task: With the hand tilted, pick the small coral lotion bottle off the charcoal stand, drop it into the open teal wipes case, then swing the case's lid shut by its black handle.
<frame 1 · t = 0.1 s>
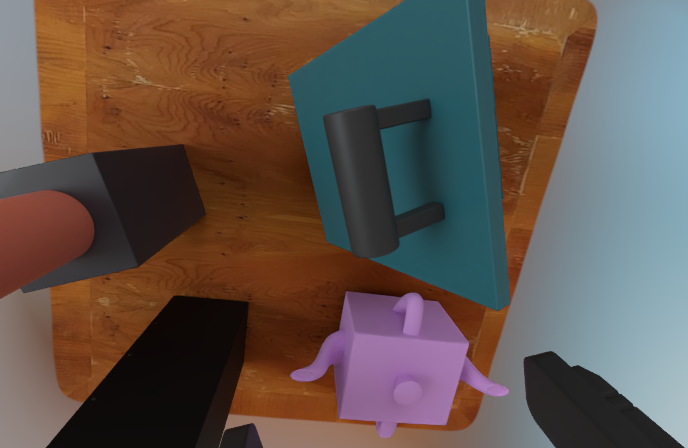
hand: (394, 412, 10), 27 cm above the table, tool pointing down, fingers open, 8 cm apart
case lid: (336, 171, 17), point 18 cm above the table, hinge at 65.0°
teapot: (382, 324, 40), on the table
tissue box: (210, 328, 38), on the table
stand: (159, 188, 33), on the table
lotion bottle: (56, 226, 20), point 14 cm above the table, touching stand
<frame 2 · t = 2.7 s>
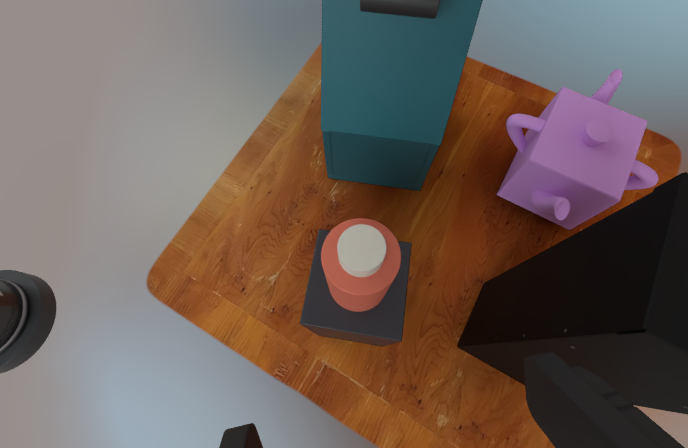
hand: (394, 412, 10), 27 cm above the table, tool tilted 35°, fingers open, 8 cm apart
case lid: (390, 66, 27), point 18 cm above the table, hinge at 65.0°
teapot: (540, 184, 43), on the table
tissue box: (503, 332, 37), on the table
stand: (354, 307, 38), on the table
lotion bottle: (357, 281, 25), point 14 cm above the table, touching stand
wipes case: (380, 139, 45), on the table
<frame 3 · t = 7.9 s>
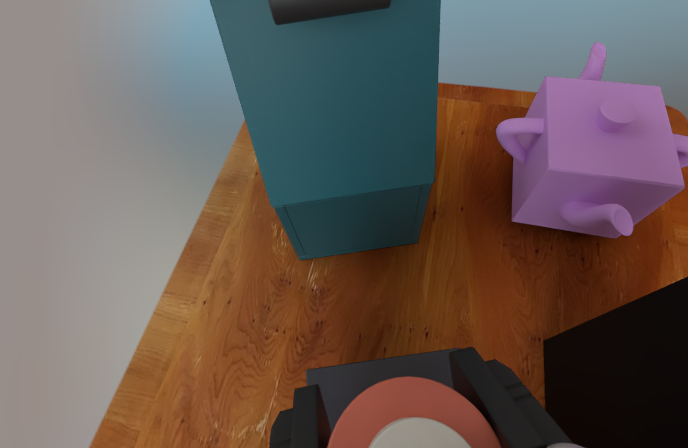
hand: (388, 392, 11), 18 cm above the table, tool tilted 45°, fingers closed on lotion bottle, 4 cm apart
case lid: (341, 97, 19), point 18 cm above the table, hinge at 65.0°
teapot: (553, 193, 35), on the table
tissue box: (597, 404, 26), on the table
stand: (387, 434, 26), on the table
wipes case: (349, 194, 37), on the table
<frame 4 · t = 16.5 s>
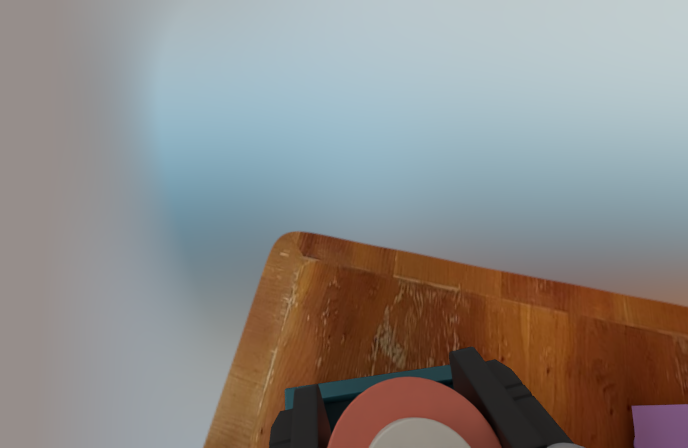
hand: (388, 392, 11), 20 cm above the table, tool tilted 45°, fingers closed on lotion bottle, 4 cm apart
when the fingers open (22 cm above the table, at t = 27.6 s): lotion bottle drops 17 cm, resting on wipes case.
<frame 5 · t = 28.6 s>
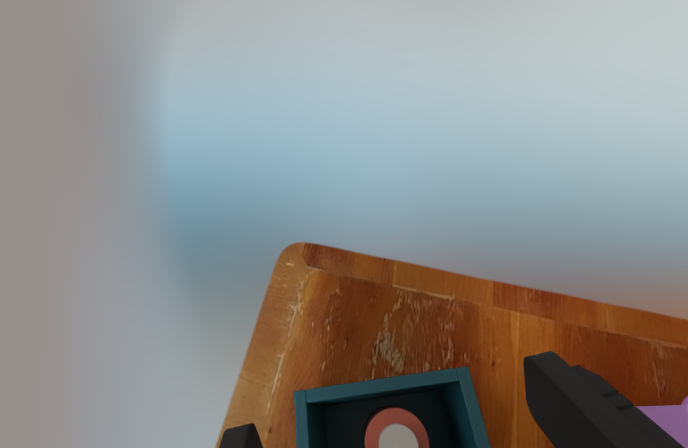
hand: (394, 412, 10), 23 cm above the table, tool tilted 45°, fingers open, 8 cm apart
lotion bottle: (389, 434, 29), point 1 cm above the table, touching wipes case
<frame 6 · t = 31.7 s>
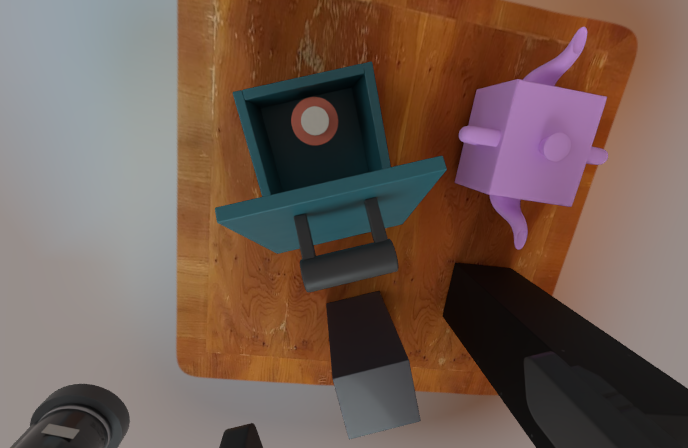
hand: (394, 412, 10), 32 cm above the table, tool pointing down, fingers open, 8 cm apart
case lid: (343, 247, 24), point 18 cm above the table, hinge at 63.6°
teapot: (494, 143, 41), on the table
tissue box: (475, 291, 46), on the table
stand: (358, 320, 45), on the table
lotion bottle: (314, 123, 37), point 1 cm above the table, touching wipes case
wipes case: (319, 153, 39), on the table
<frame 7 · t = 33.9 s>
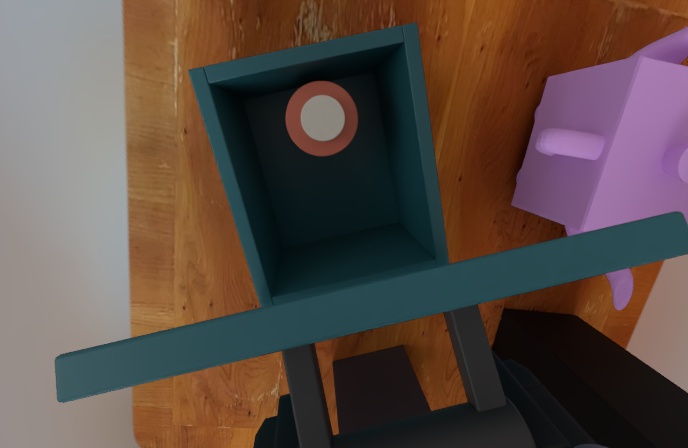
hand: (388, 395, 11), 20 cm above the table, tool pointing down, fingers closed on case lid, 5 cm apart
case lid: (377, 352, 13), point 18 cm above the table, hinge at 63.6°, touching gripper
teapot: (563, 151, 30), on the table
tissue box: (527, 344, 35), on the table
stand: (374, 382, 34), on the table
lotion bottle: (319, 122, 27), point 1 cm above the table, touching wipes case
wipes case: (325, 163, 28), on the table
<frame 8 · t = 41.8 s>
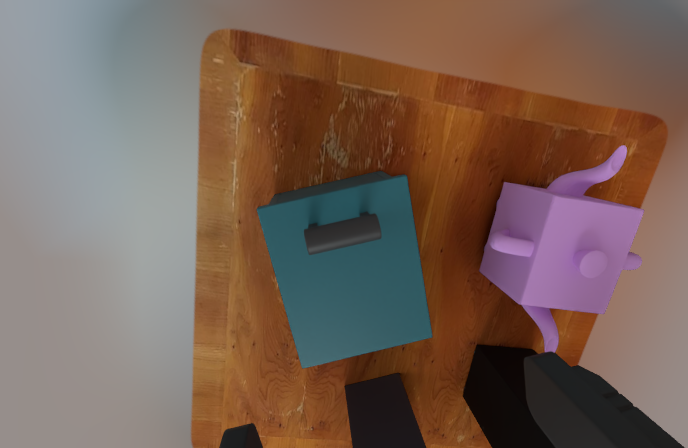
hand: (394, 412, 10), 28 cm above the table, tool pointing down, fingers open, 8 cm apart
case lid: (353, 287, 26), point 12 cm above the table, hinge at -0.2°, touching wipes case
teapot: (519, 229, 40), on the table
tissue box: (496, 371, 45), on the table
stand: (376, 401, 44), on the table
wipes case: (341, 242, 38), on the table
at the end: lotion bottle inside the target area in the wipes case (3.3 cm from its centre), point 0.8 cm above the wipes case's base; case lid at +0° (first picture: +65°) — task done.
